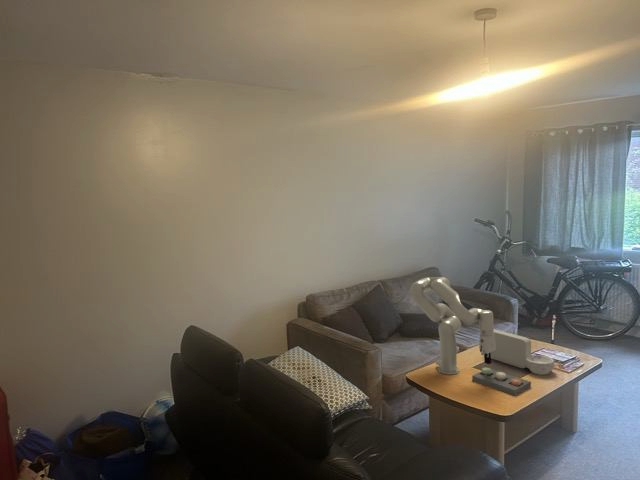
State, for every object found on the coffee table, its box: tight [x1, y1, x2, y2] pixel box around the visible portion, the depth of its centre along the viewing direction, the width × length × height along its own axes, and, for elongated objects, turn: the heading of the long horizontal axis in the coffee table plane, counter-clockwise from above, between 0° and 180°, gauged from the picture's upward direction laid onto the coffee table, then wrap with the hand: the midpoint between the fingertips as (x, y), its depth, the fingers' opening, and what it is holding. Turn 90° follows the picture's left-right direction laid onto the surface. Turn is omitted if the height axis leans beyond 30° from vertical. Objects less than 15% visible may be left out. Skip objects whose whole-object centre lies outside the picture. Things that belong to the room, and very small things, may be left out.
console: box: [471, 368, 532, 396], centre depth 256 cm, size 26×16×3 cm, turn 37°
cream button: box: [496, 371, 507, 380], centre depth 256 cm, size 5×5×2 cm
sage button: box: [481, 367, 492, 375], centre depth 263 cm, size 5×5×2 cm
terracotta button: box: [511, 379, 521, 387], centre depth 249 cm, size 5×5×2 cm
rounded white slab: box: [491, 328, 532, 369], centre depth 287 cm, size 29×8×18 cm, turn 33°
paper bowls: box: [526, 354, 555, 376], centre depth 270 cm, size 15×15×8 cm
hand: (487, 363), depth 262 cm, fingers closed
